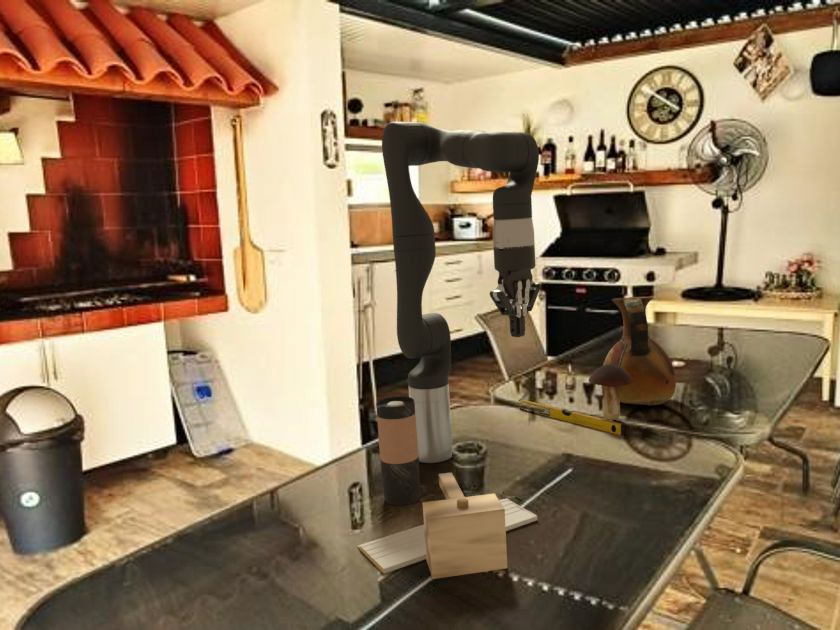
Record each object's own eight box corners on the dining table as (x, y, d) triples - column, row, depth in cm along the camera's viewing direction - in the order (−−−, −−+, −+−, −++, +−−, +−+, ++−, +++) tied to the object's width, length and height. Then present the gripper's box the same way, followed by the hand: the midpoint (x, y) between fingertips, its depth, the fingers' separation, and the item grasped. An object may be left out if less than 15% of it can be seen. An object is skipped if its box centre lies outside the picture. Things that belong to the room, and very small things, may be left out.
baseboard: (354, 547, 117) (384, 577, 107) (352, 531, 117) (383, 560, 106) (499, 500, 132) (538, 523, 121) (498, 486, 131) (537, 508, 121)
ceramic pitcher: (665, 391, 195) (664, 289, 190) (685, 412, 175) (685, 299, 171) (596, 394, 197) (593, 292, 192) (608, 415, 177) (606, 302, 173)
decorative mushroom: (642, 422, 170) (642, 364, 167) (609, 430, 165) (607, 371, 163) (612, 411, 180) (611, 357, 177) (580, 419, 175) (578, 363, 173)
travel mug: (427, 492, 136) (421, 397, 133) (411, 508, 129) (404, 408, 126) (394, 488, 139) (387, 394, 136) (376, 503, 132) (368, 405, 129)
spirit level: (624, 435, 162) (624, 423, 162) (621, 436, 161) (621, 424, 161) (522, 409, 188) (521, 398, 188) (518, 410, 187) (518, 399, 187)
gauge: (415, 526, 122) (411, 470, 120) (480, 518, 124) (477, 462, 122) (432, 579, 104) (428, 513, 103) (507, 568, 106) (504, 504, 104)
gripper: (519, 241, 131) (523, 328, 133) (474, 247, 122) (479, 340, 124) (551, 240, 125) (554, 332, 128) (507, 246, 116) (511, 344, 119)
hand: (517, 336), depth 126 cm, fingers closed
